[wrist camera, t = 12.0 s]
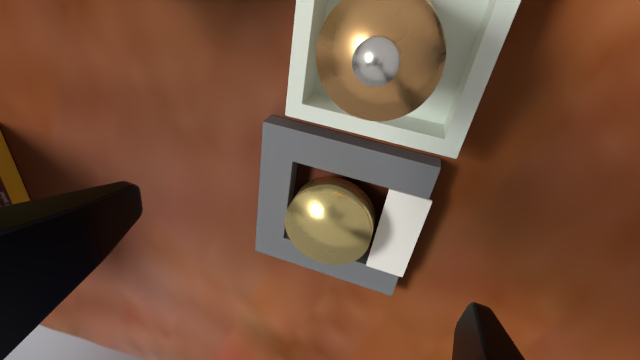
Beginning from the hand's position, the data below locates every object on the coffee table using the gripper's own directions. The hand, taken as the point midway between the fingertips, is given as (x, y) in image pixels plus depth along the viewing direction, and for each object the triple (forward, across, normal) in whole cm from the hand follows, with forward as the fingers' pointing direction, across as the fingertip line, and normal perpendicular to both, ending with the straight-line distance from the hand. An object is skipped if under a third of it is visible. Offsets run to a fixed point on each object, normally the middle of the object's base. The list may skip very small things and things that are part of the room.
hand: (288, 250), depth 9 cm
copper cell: (+11, 0, -4) cm, 12 cm away
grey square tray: (+12, 0, +6) cm, 13 cm away
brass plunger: (+11, 0, +6) cm, 13 cm away
